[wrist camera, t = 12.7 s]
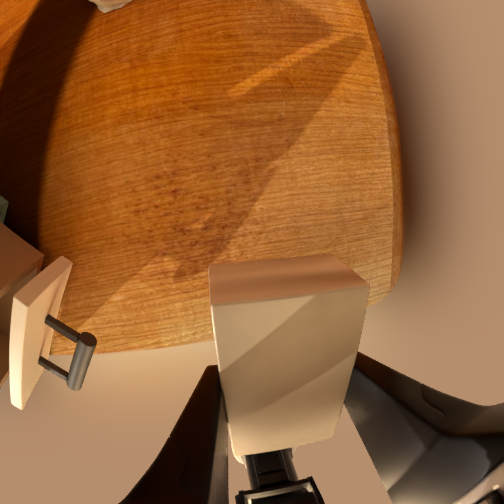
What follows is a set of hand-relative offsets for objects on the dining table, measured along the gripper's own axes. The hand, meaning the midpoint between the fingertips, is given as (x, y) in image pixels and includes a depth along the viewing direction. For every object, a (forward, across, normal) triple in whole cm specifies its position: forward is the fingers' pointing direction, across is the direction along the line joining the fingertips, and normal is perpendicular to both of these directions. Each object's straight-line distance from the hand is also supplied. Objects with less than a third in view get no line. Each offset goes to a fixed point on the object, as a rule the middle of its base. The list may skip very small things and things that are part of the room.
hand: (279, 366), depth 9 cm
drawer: (+11, +20, +2) cm, 23 cm away
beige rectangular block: (+1, 0, 0) cm, 1 cm away
